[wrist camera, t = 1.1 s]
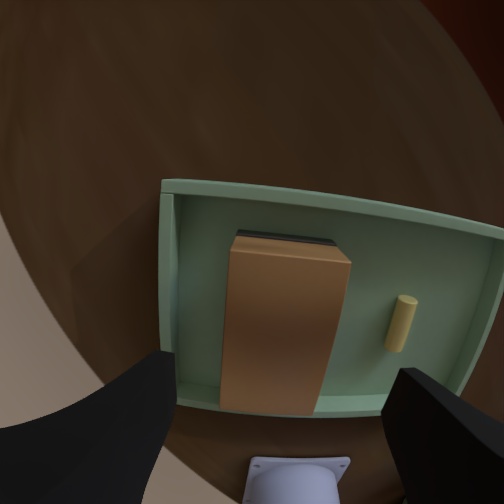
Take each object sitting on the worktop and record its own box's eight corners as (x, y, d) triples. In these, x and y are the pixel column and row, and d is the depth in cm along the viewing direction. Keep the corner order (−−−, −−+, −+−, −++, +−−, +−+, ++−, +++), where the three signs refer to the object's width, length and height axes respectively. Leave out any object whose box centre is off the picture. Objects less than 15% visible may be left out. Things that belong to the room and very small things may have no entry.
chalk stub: (381, 341, 15) (400, 343, 15) (384, 352, 14) (404, 354, 14) (395, 293, 14) (414, 295, 14) (400, 301, 13) (421, 304, 13)
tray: (442, 388, 17) (454, 405, 15) (173, 381, 17) (164, 402, 15) (496, 226, 14) (517, 233, 12) (175, 178, 14) (161, 179, 12)
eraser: (305, 375, 16) (312, 417, 12) (226, 369, 16) (218, 411, 13) (332, 239, 14) (352, 259, 10) (238, 228, 14) (229, 246, 10)
